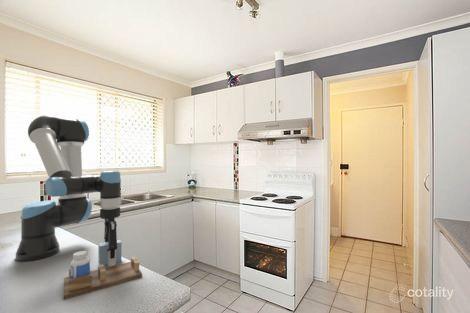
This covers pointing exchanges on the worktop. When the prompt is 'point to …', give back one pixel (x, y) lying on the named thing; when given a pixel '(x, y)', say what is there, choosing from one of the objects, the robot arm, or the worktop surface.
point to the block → (104, 253)
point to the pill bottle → (80, 264)
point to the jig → (101, 278)
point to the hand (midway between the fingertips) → (110, 261)
